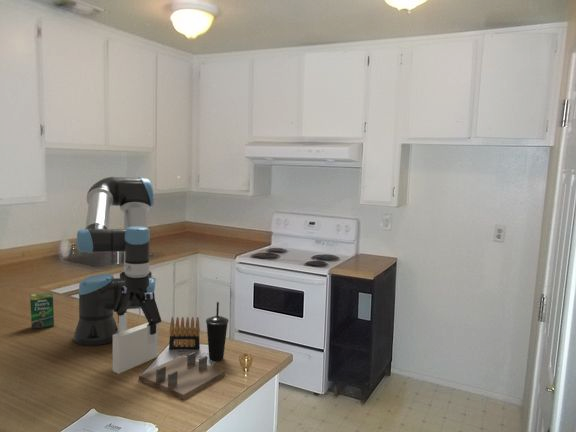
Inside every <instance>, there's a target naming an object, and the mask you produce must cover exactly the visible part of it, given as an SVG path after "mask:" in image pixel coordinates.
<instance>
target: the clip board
mask: <svg viewBox="0 0 576 432" xmlns="http://www.w3.org/2000/svg"><path fill="white" fill-rule="evenodd" d="M196 354H197V353H196V352H195V351H192V352H189V353H188V354H187V355H186V356H184V355H179V356H177V357H175V358H173V359H171V360H169V361H166V362H164V363H162V364H160V365H158V366H156V367H154V368H151V369H149V370H147V371H144V372H143V373H141V374H139V375H138V381H140V382H143V383H145V384H147V385H149V386H152V387H153V388H157V389H158V390H161V391H163V392H165V393H167V394H170V395H173V396H175V397H176V398H179V399H182V400H185V399H187V398H189V397H190V396H193V395H194V394H195V393H198V392H199V391H201V390H202V389H203V390H204V388H206V387H208V386H209V385H211V384H213V383H215V382H216V381H218V380H219V379H222V378H223V377H225V375H226V372H225V370H222V369H219V368H217V367H214V366H211V365H208V356H207V355H204V356H202V357H200V358H198V361H197V359H196V357H197V355H196Z"/></svg>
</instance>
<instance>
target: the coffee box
mask: <svg viewBox="0 0 576 432" xmlns="http://www.w3.org/2000/svg"><path fill="white" fill-rule="evenodd" d="M29 300H30V301H29V304H30V322H31V330H33V329H39V328H40V329H41V328H42V329H43V328H50V327H55V312H54V309H55V308H54V292H46V293H36V294H35V293H33V294H30V295H29Z"/></svg>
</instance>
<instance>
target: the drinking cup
mask: <svg viewBox="0 0 576 432" xmlns="http://www.w3.org/2000/svg"><path fill="white" fill-rule="evenodd" d="M219 303H220V302H219V301H216V315H214V316H211V317H208V318H206V319H205V323H206V331H207V333H206V334H207V345H208V359H209V360H210V361H211V360H212V362H221V361H223V360H224V354H225V346H226V338H227V330H228V324H229V319H228V318H227V317H224V316H221V315H219V311H220V308H219V307H220V304H219Z"/></svg>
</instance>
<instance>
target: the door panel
mask: <svg viewBox="0 0 576 432" xmlns="http://www.w3.org/2000/svg"><path fill="white" fill-rule="evenodd" d="M147 324H149V323H148V322H145V323H143V324H140V325H137V326H134V327H131V328H127V330H125V331H122V332H120V333H119V332H118V333H117V334H114V335H113V341H112V371H113V372H114V373H116V374H122V373H123V372H125V371H128V370H131V369H132V368H133V369H134V368H136V367H137V366H140V365H143V364H144V363H147V362H149V361H151V360H153V359H156V358H158V357H159V323H157V324H156V334H155V343H152V344H150V345H147Z"/></svg>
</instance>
